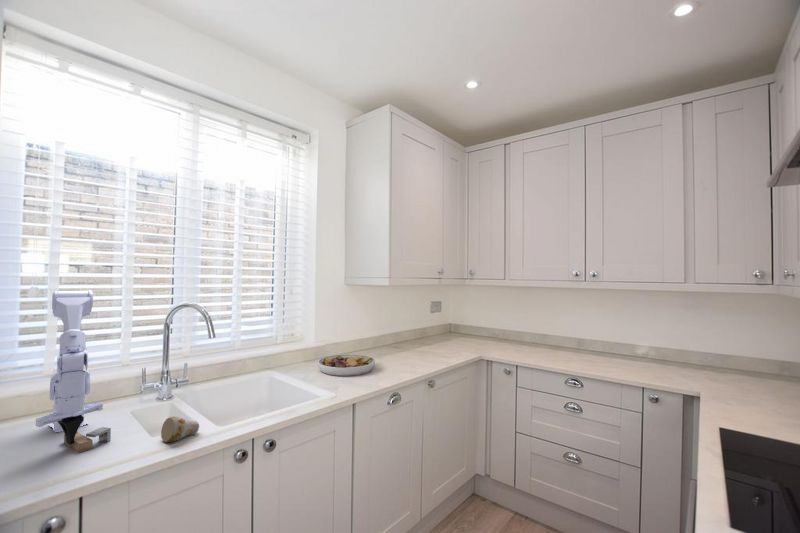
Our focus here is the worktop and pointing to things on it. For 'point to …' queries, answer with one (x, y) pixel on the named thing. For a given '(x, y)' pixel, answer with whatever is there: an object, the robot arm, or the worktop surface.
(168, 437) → the grey-brown rounded piece
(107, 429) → the bracket
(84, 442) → the link
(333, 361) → the bowl
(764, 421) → the worktop surface
